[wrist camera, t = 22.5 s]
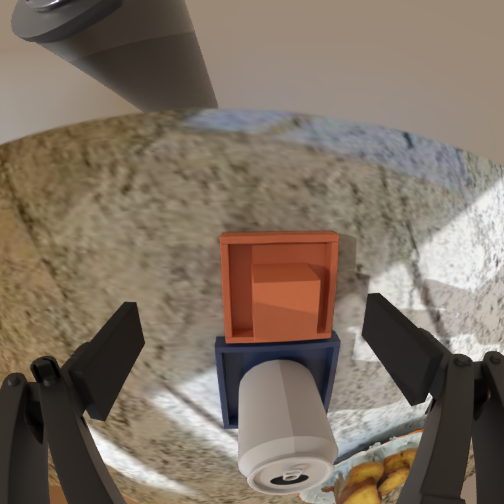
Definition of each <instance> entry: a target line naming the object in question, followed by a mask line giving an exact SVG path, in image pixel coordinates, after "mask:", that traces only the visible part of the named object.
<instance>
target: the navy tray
mask: <svg viewBox="0 0 504 504" xmlns="http://www.w3.org/2000/svg"><path fill="white" fill-rule="evenodd" d="M339 348H340V339H339V337H338V336H337V334H336V332H335V331H331V338H323V339H311V340H298V341H282V342H261V343H226V339H225V337H216V343H215V356H216V366H217V375H218V384H219V393H220V401H221V409H222V417H223V425H224V429H238V417H239V386H240V381H241V380H242V378H243V377H244V375H245V374H246V373H247V372H248V371H249V370H251V369H252V368H253V367H254V366H257V365H259V364H261V363H264V362H266V361H272V360H278V359H279V360H291V361H294V362H297V363H300V364H302V365H303V366H305V367H306V368H307V369H309V371H310V372H311V374H312V376H313V378H314V381H315V383H316V386H317V389H318V392H319V395H320V398H321V401H322V404H323V406H324V409H325V412H326V415H327V412H328V408H329V403H330V398H331V393H332V388H333V383H334V378H335V372H336V366H337V360H338V354H339Z"/></svg>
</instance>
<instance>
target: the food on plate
mask: <svg viewBox="0 0 504 504" xmlns="http://www.w3.org/2000/svg"><path fill="white" fill-rule="evenodd" d="M410 427H411V426H410ZM423 429H424V428H422V430H416V431H414V432H411V433H409V434H408V435H404V436H400V437H395V436H394V437H393V438H389V440H390V441H389V442H386V443H384V444H383V445H381V444H380V442H376V443H375V445H373V446H370V447H369V450H367V451H361V452H359V453H357V454H355V455H353V456H352V457H350V458H349V459H347V460H344V461H342V462H340V463H339V464H337V465H334V472H333V474H332V475H331V476H330V478H329V479H328V480H326V481H325V482H324V483H322V484H321V485H319V486H317V487H315V488H312V489H310V490H307V491H303V492H300V493H297V495H298V497H299V499H300V500H303V501H305V502H308V503H313V504H331V503H333V504H334V503H336V504H381V503H382V496H384V495H385V494H387V493H388V492H391V491H392V490H394V489H395V488H397V487H398V486H400V485H401V484H403V483H404V482H405V481H406V479H407V477H408V474H409V472H410V469H411V466H412V464H413V461H414V458H415V455H416V452H417V449H418V446H419V443H420V439H421V436H422V433H423Z"/></svg>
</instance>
